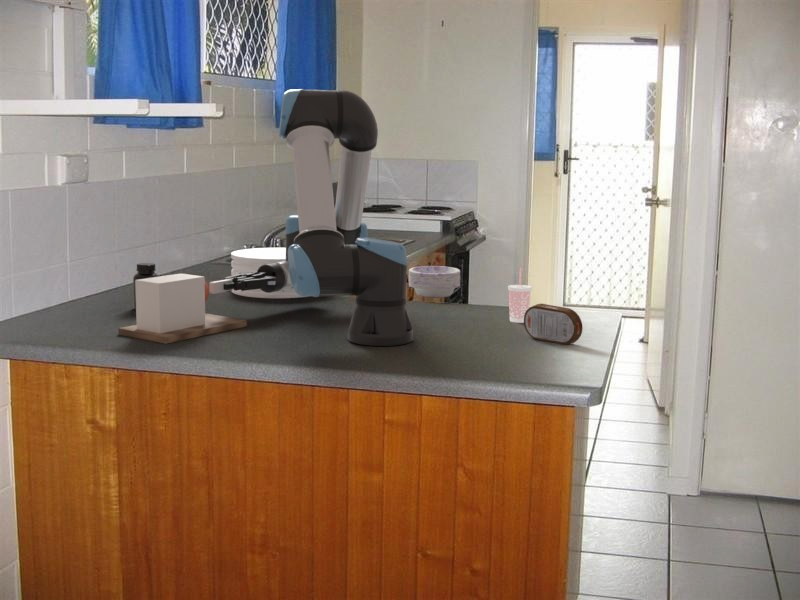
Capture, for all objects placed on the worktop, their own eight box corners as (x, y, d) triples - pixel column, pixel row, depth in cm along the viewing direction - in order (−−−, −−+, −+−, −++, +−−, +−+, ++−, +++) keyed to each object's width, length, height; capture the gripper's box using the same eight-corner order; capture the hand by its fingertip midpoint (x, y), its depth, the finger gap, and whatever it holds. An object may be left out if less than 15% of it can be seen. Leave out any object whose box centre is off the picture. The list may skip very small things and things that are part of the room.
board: (200, 318, 251) (200, 312, 251) (246, 326, 242) (246, 320, 242) (118, 334, 230) (118, 328, 230) (165, 343, 221) (165, 337, 221)
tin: (582, 345, 227) (584, 309, 225) (574, 347, 224) (576, 311, 223) (528, 335, 237) (530, 301, 235) (520, 337, 235) (522, 302, 233)
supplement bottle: (153, 311, 260) (151, 266, 258) (129, 310, 261) (127, 265, 259) (164, 307, 266) (163, 262, 264) (140, 305, 268) (139, 261, 266)
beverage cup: (510, 323, 251) (512, 268, 249) (504, 318, 257) (505, 265, 255) (533, 323, 252) (535, 268, 250) (526, 318, 258) (528, 265, 256)
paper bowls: (423, 301, 282) (424, 273, 281) (399, 293, 295) (399, 267, 294) (469, 298, 289) (470, 271, 287) (443, 290, 302) (444, 264, 301)
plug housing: (182, 320, 241) (181, 273, 239) (205, 324, 236) (204, 276, 234) (136, 329, 229) (135, 279, 227) (160, 333, 225) (159, 283, 223)
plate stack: (333, 297, 287) (333, 258, 285) (235, 300, 280) (235, 259, 278) (317, 282, 314) (317, 246, 312) (228, 284, 307) (227, 248, 305)
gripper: (294, 293, 259) (231, 306, 239) (257, 288, 266) (192, 300, 246) (294, 265, 257) (230, 275, 238) (257, 260, 264) (192, 270, 245)
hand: (211, 287), depth 242 cm, fingers closed
